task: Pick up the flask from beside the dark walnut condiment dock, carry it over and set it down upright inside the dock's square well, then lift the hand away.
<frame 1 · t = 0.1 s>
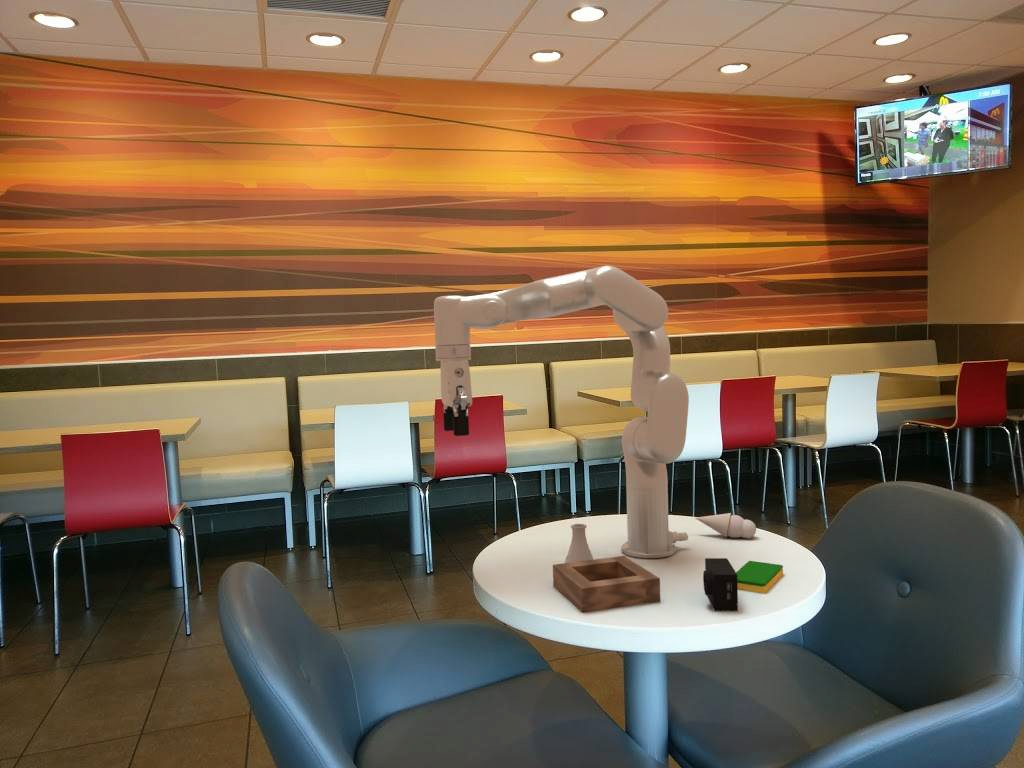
hand: (456, 432, 165), 31 cm above the table, fingers open, 9 cm apart
flask: (579, 571, 167), on the table
ice cream cone: (725, 537, 189), on the table
dish sponge: (756, 583, 156), on the table
condiment dock: (604, 593, 151), on the table
digital camera: (717, 602, 145), on the table
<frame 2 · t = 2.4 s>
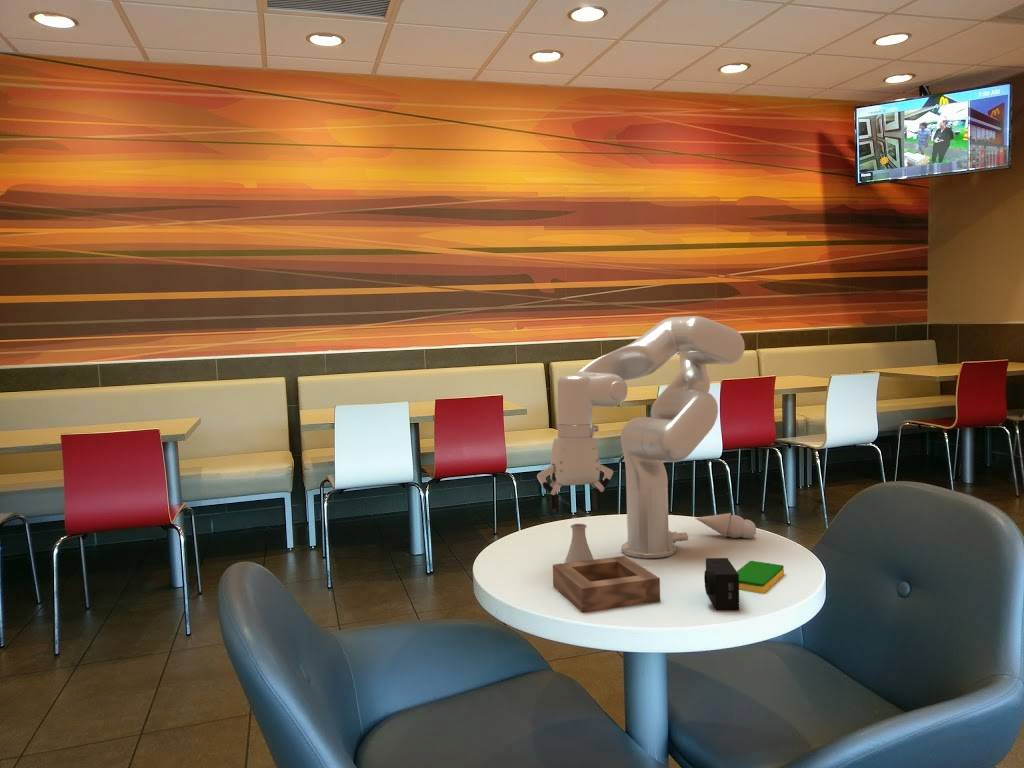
hand: (575, 510, 166), 13 cm above the table, fingers open, 9 cm apart
nothing on the table moved.
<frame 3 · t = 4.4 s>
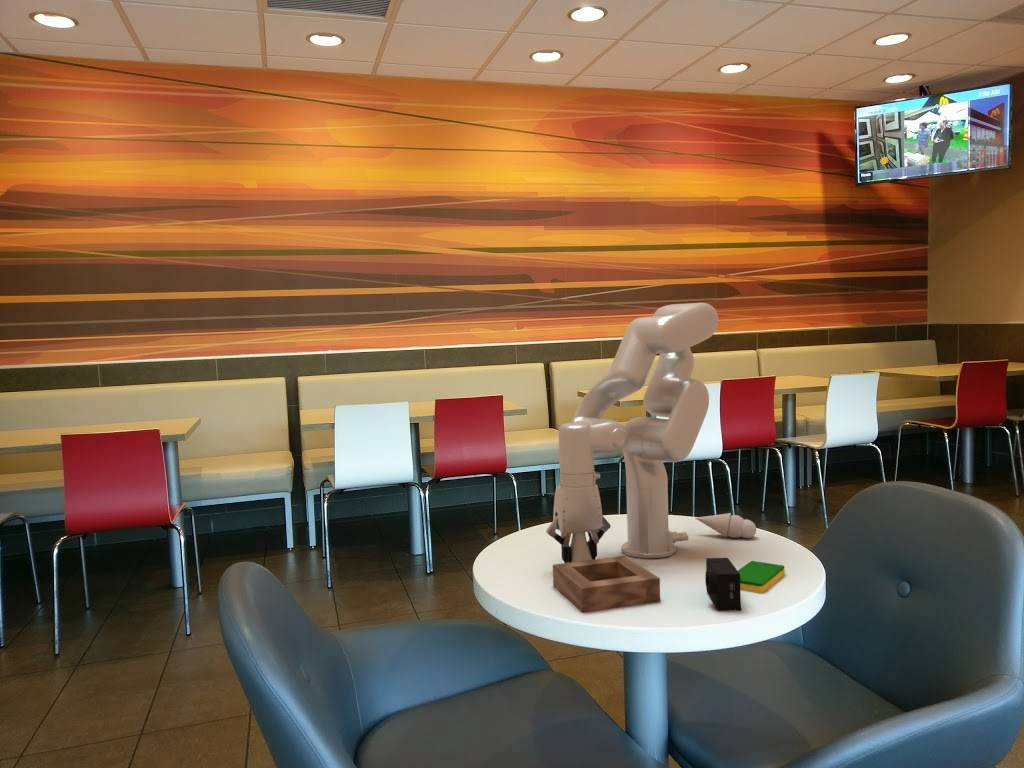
hand: (579, 561, 167), 2 cm above the table, fingers closed on flask, 5 cm apart
flask: (579, 571, 167), on the table, touching gripper
everything else where it was.
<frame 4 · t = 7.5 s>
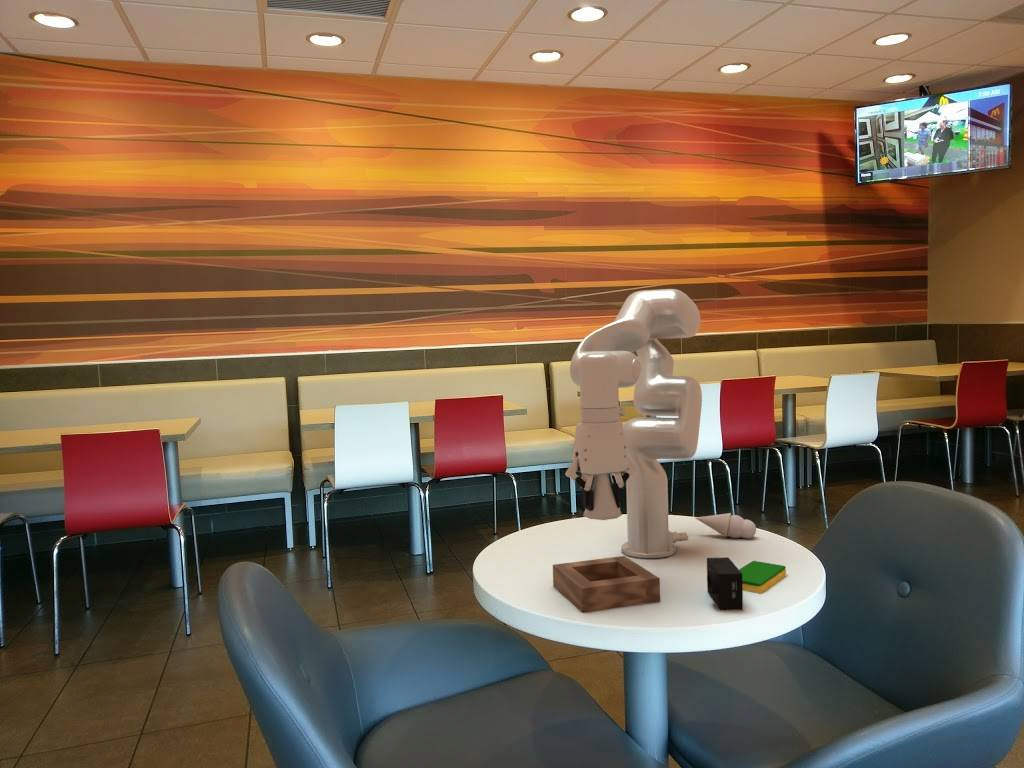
hand: (602, 507, 150), 17 cm above the table, fingers closed on flask, 5 cm apart
flask: (602, 517, 150), point 15 cm above the table, touching gripper
everything else where it was.
when the fingers open (4 cm above the table, at t = 10.6 s): flask drops 1 cm, resting on condiment dock.
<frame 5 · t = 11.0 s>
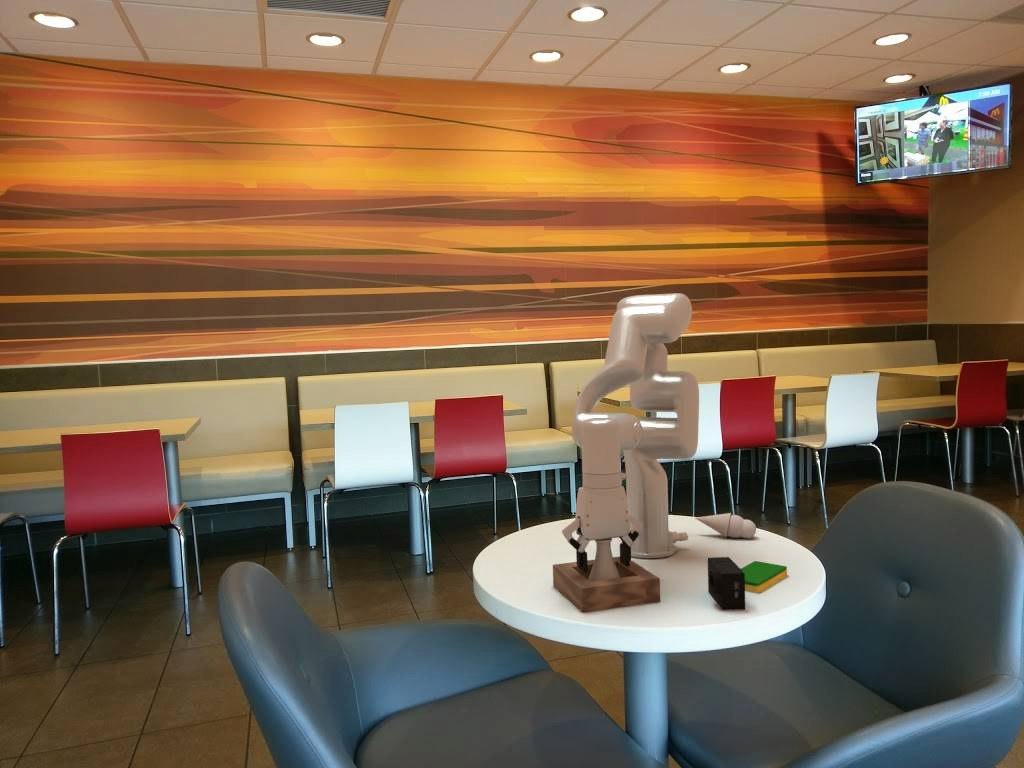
hand: (604, 567, 151), 5 cm above the table, fingers open, 8 cm apart
flask: (605, 589, 151), point 1 cm above the table, touching condiment dock
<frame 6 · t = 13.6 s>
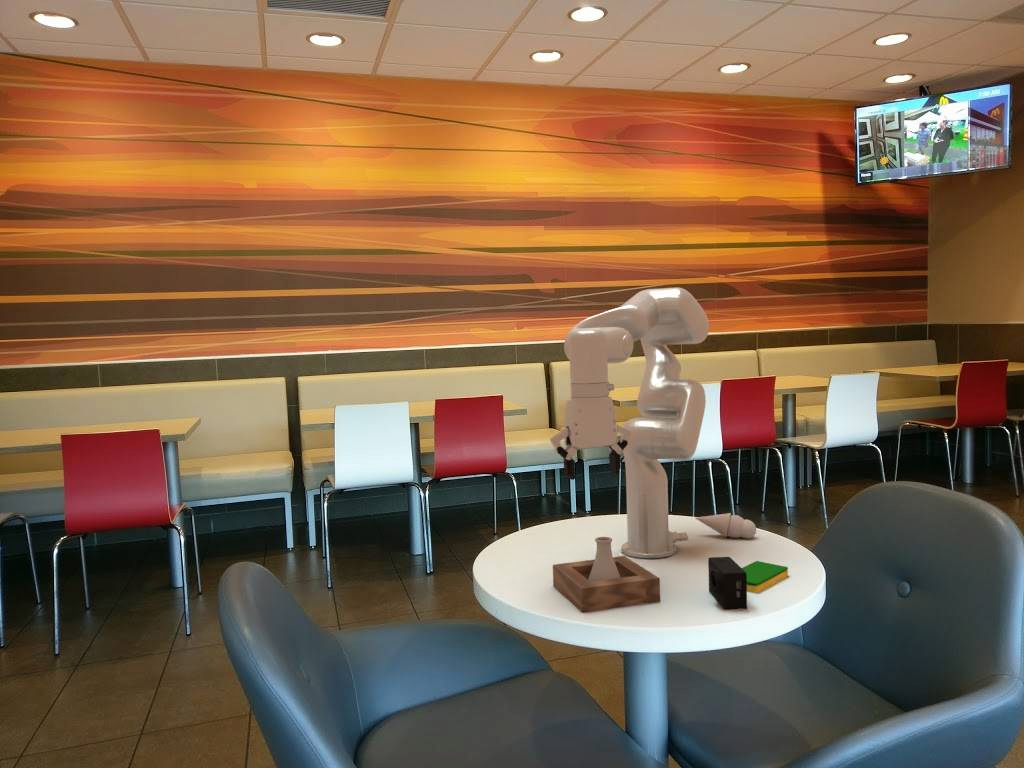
hand: (592, 475, 154), 23 cm above the table, fingers open, 9 cm apart
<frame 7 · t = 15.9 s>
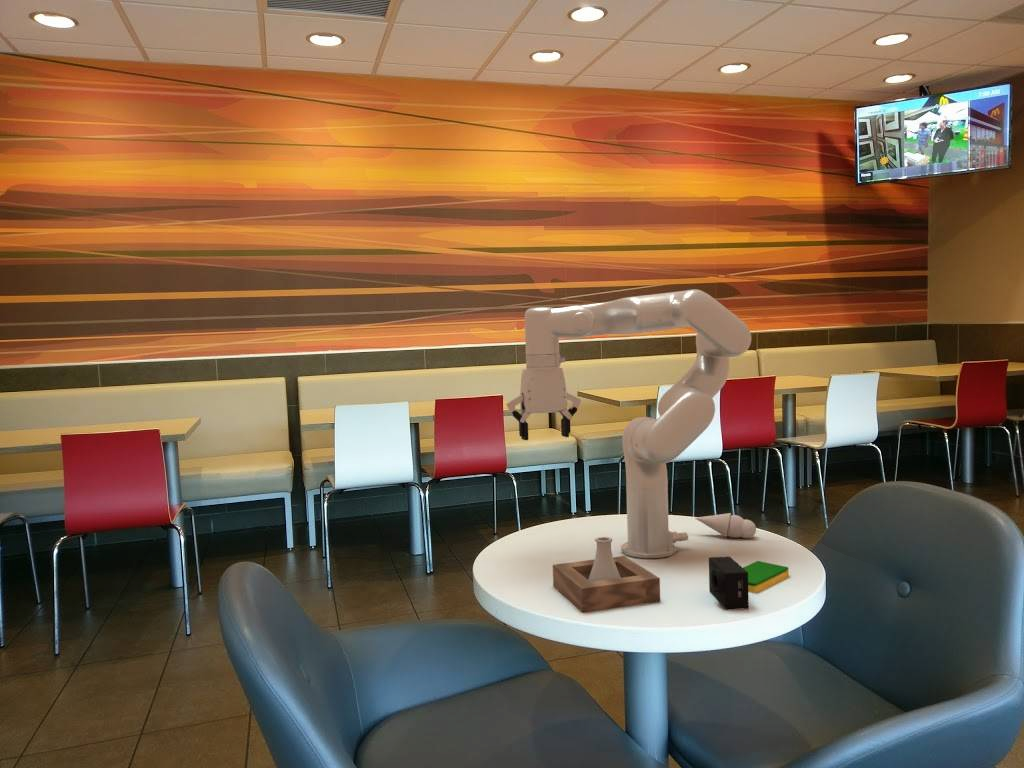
hand: (545, 438, 173), 28 cm above the table, fingers open, 9 cm apart
at the end: flask 0.1 cm off-centre on the condiment dock, point 0.8 cm above the condiment dock's base; flask tilted 0°; the gripper is holding nothing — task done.
